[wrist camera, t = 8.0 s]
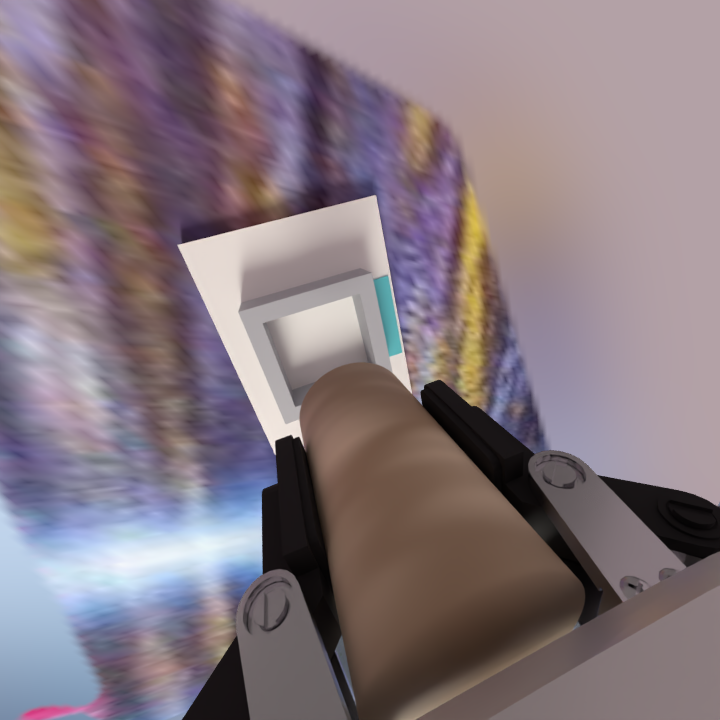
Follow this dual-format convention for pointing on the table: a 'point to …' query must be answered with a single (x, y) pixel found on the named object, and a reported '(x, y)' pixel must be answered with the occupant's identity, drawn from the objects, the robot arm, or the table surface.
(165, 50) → the table surface
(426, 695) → the barrel peg
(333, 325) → the white square-hole tray
